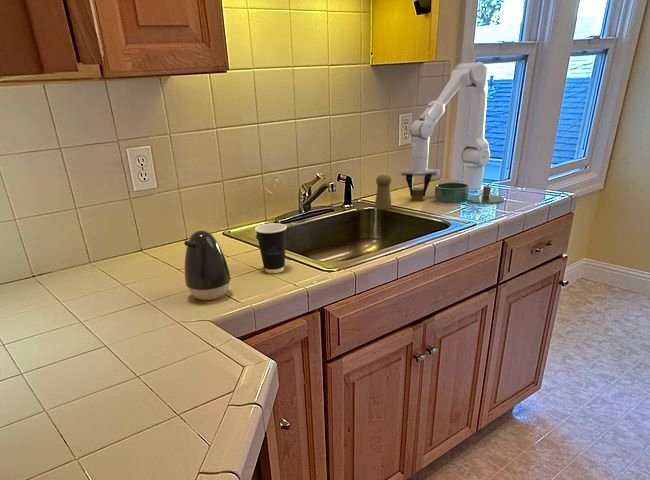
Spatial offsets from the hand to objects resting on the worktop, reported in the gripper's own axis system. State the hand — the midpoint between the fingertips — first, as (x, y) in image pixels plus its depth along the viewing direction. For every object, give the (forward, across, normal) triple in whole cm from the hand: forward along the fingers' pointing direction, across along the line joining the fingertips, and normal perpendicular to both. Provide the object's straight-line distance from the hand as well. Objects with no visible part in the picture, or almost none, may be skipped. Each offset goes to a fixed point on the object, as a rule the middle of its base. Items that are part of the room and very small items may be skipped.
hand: (417, 196), depth 186 cm
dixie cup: (+2, -28, -80) cm, 85 cm away
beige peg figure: (+2, -11, -12) cm, 16 cm away
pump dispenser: (+2, -37, -99) cm, 106 cm away
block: (+1, 0, 0) cm, 1 cm away
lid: (+1, +24, -2) cm, 24 cm away
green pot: (+1, +12, -2) cm, 12 cm away
